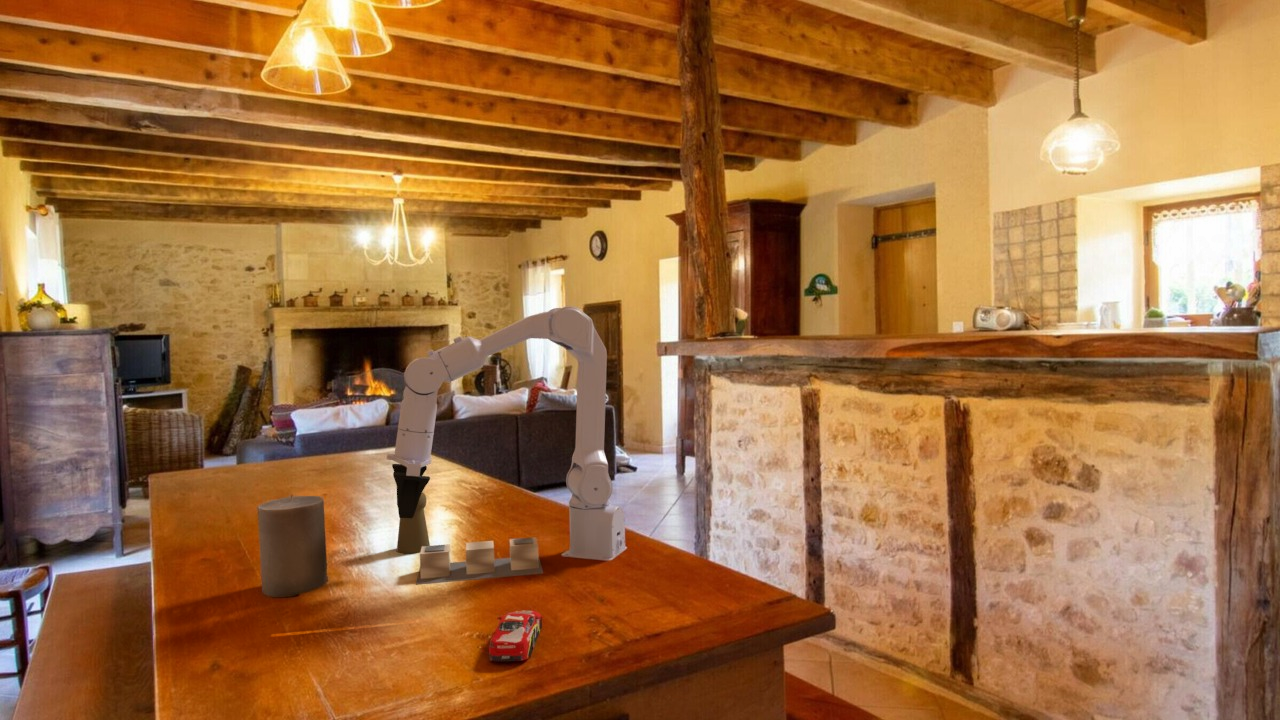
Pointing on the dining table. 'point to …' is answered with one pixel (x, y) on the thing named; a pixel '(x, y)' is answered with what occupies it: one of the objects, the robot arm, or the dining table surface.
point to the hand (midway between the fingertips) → (404, 512)
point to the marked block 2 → (524, 553)
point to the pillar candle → (292, 545)
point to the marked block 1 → (435, 561)
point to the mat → (460, 573)
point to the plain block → (480, 557)
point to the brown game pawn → (413, 531)
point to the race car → (515, 636)
